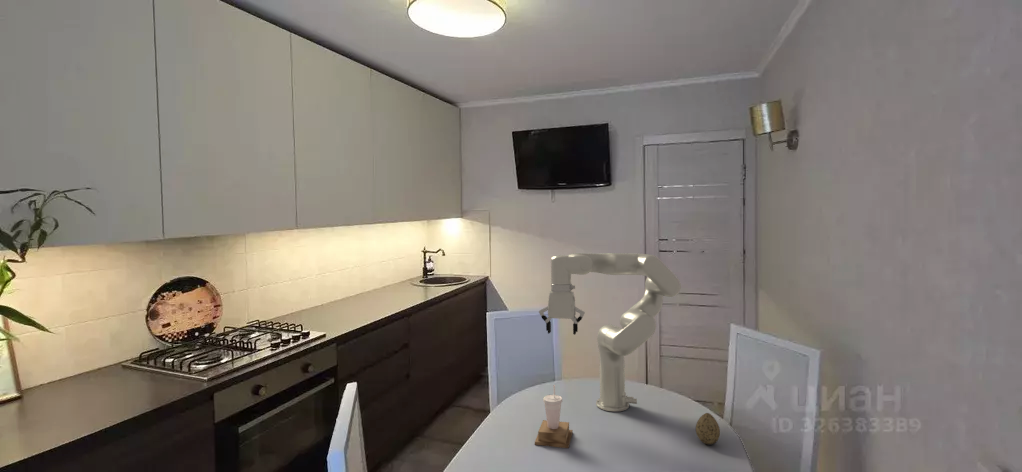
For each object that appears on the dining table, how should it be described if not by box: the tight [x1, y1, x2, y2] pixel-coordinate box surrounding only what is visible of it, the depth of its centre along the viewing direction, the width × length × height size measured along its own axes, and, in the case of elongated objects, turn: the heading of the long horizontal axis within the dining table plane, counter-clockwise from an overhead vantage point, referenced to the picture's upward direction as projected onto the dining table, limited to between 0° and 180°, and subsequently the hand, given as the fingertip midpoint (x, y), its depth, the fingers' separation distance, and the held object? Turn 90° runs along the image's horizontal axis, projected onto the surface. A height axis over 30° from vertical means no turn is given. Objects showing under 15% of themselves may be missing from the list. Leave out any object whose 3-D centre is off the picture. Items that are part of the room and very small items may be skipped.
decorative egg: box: [695, 412, 721, 446], centre depth 149 cm, size 7×7×10 cm
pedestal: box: [534, 419, 573, 449], centre depth 155 cm, size 11×11×4 cm
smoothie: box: [542, 384, 563, 429], centre depth 154 cm, size 6×6×14 cm
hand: (561, 333), depth 175 cm, fingers open, 9 cm apart
